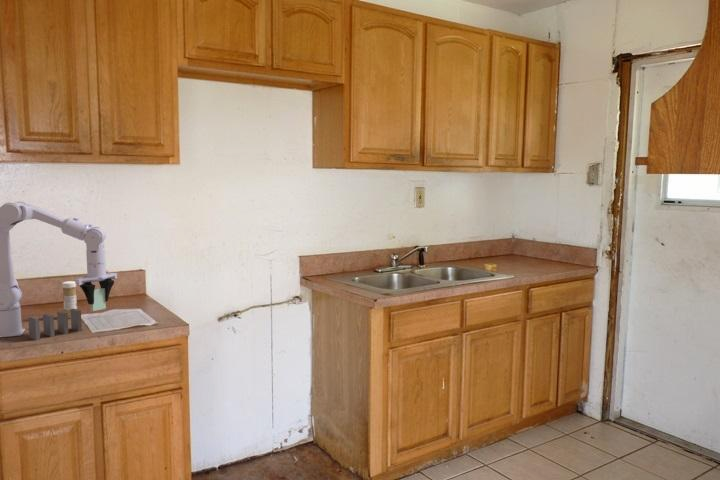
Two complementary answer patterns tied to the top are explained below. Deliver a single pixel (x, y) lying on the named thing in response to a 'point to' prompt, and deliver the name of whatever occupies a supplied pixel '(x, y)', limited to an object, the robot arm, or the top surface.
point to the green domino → (99, 300)
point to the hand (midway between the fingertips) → (98, 302)
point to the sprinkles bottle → (69, 296)
